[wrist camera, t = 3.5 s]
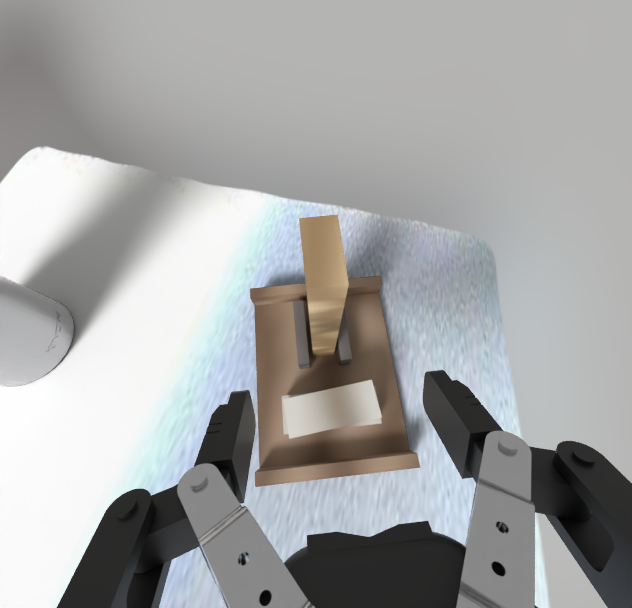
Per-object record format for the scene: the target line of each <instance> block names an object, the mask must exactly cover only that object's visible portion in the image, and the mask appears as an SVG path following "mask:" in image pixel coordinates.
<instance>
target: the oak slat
mask: <svg viewBox="0 0 632 608" xmlns="http://www.w3.org/2000/svg"><path fill="white" fill-rule="evenodd" d="M299 221H300V231H301V241H302V251H303V261H304V271H305V281H306V290H307V300H308V310H309V320H310V330H311V340H312V350H313V357H319V356H328V355H334V352H335V347H336V342H337V337H338V333H339V328H340V323H341V319H342V314H343V309H344V304H345V300H346V295H347V290H348V286H349V282H348V276H347V270H346V264H345V258H344V251H343V245H342V239H341V233H340V226H339V220H338V215H330V216H319V217H309V218H299Z"/></svg>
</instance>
